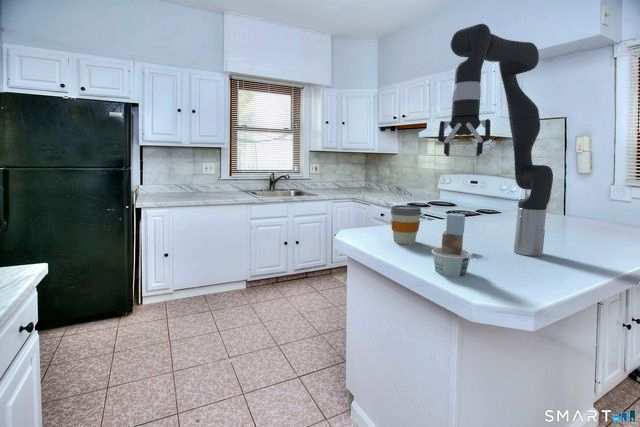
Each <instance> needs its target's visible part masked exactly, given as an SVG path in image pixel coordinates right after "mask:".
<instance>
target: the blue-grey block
mask: <svg viewBox="0 0 640 427" xmlns="http://www.w3.org/2000/svg"><path fill="white" fill-rule="evenodd" d="M465 221H466V214H464V213H456V212H455V213H453V212H449V213H448V214H447V215H446V229H445V231H446V234H449V235H458V236H462V235H463V236H464V234H465V223H466V222H465Z"/></svg>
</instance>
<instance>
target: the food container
mask: <svg viewBox="0 0 640 427" xmlns="http://www.w3.org/2000/svg"><path fill="white" fill-rule="evenodd" d="M431 252H432V256H433V264H434V271H435V273H438V274H440V275H443V276H446V277H456V278H457V277H463V276H466V275H467V273H468V269H469V263H470V261H471V257H473V253H472V252H470V251H469V250H466V249H463V248H462V253H461V255H452V254H444V253H441V252H442V247H435V248H433V249H431Z"/></svg>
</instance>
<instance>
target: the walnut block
mask: <svg viewBox="0 0 640 427" xmlns="http://www.w3.org/2000/svg"><path fill="white" fill-rule="evenodd" d="M441 238H442V239H441V248H442V252H441V253H444V254H452V255H461V253H462V249H463V242H464V234H463V235H462V236H458V235H449V234H446V230H444V232H443V233H442V237H441Z"/></svg>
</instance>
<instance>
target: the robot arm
mask: <svg viewBox="0 0 640 427" xmlns="http://www.w3.org/2000/svg"><path fill="white" fill-rule="evenodd" d="M449 46H450V49H451V51H452V52H453V54H455V55H456V56H457V57H461V58H466V59H465V60H464V61H462V62H459V63H458V64H457V65H456V67H455V72H454V87H453V91H452V100H451V101H452V104H451V119H450V121H443V120H441V121H440V122H439V130H438V136H437V140H438V142H441V143H443V145H444V146H443V154H444V155H445V156H446V157H450V151H451V150H450V149H451V144H450V142H451V141H452V140H453V139H454V138H455V137H456V136H460V137H461V136H471V135H473V136H474V138H475V139H476V140H477V144H476V154H475V156H476V157H480V156H481V155H482V154H483V151H484V150H483V146H484V143H485V142H489V141H490V140H491V120H490V118H487V119H484V120H483V119H482V120H480V109H481V108H480V106H481V95H482V93H481V92H482V91H481V90H482V88H481V81H482V68H483V65H484V62H485V61H487V62H490V63H491V62H493V63H498V68H499V72H500V77H501V81H502V84H503V88H504V93H505V97H506V98H505V99H506V103H507V104H506V105H507V110H508V120H509V126H510V133H511V138H512V139H511V140H512V147H513V154H514V157H513V158H514V176H515V177H514V178H515V183H516V185H517V186H518V188H520V189H522V190H529V191H530V193H529V196H527V197H525V198H521V199H519V200H518V203H517V213H516V214H517V215H516V223H515V225H516V226H515V235H514V243H513V244H514V246H513V252H514V253H516V254H518V255H521V256H522V255H524V256H531V257H543V251H544V243H545V232H546V230H545V228H546V227H545V226H546V218H547V208H548V205H549V202H550V200H551V193H552V190H553V183H554V182H553V181H554V172H553V170H552V168H551V167H550V166H548V165H544V164H534V163H533V159H532V158H533V157H532V150H533V146H534V145H535V142H536V140H537V139H538V136H539V134H540V130H541V120H540V119H541V118H540V111H539V108H538V106H537V104H536V103H534V101H532V99H531V98H530V97H529V96H527V94H526V93H525V92H524V91H523V90H522V88H521V87H520V85H519V82H518V79H517V75H520V74H524V73H527V72H530V71H532V70H534V69H535V68H536V67H537V66H538V64H539V60H540V59H539V58H540V54H539V50H538V47H537V45H535V44H534V43H533V42H531V41H529V42H528V41H518V40H511V39H505V38H503V37H500V36H499V35H498V36H497V35H495V34H493V33H491V29H490V27H489V25H487V24H485V23H479V24H474V25H472V26H469V27H465V28H462V29H459V30H457V31H455V33H453V34H452V37H451V38H450V45H449ZM480 125H481V126H482V128H484V136H483V137H482V136H481V135H480V134H479V132H478V131H477V129H478V128H479V127H480ZM448 127H450V128H451V131H450V132H449V133H448V135H447V136H446V137H445V131H446V130H447V129H448Z"/></svg>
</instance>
